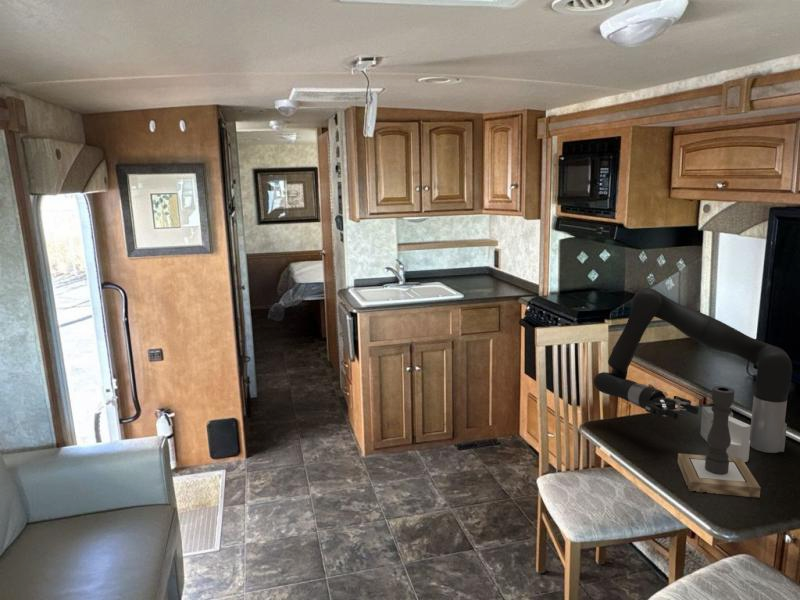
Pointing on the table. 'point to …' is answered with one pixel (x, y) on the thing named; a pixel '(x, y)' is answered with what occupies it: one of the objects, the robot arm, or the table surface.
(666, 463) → the table surface
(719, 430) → the candle holder
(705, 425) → the small box
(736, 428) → the cylinder with rectangular tab
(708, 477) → the platform
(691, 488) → the stand
